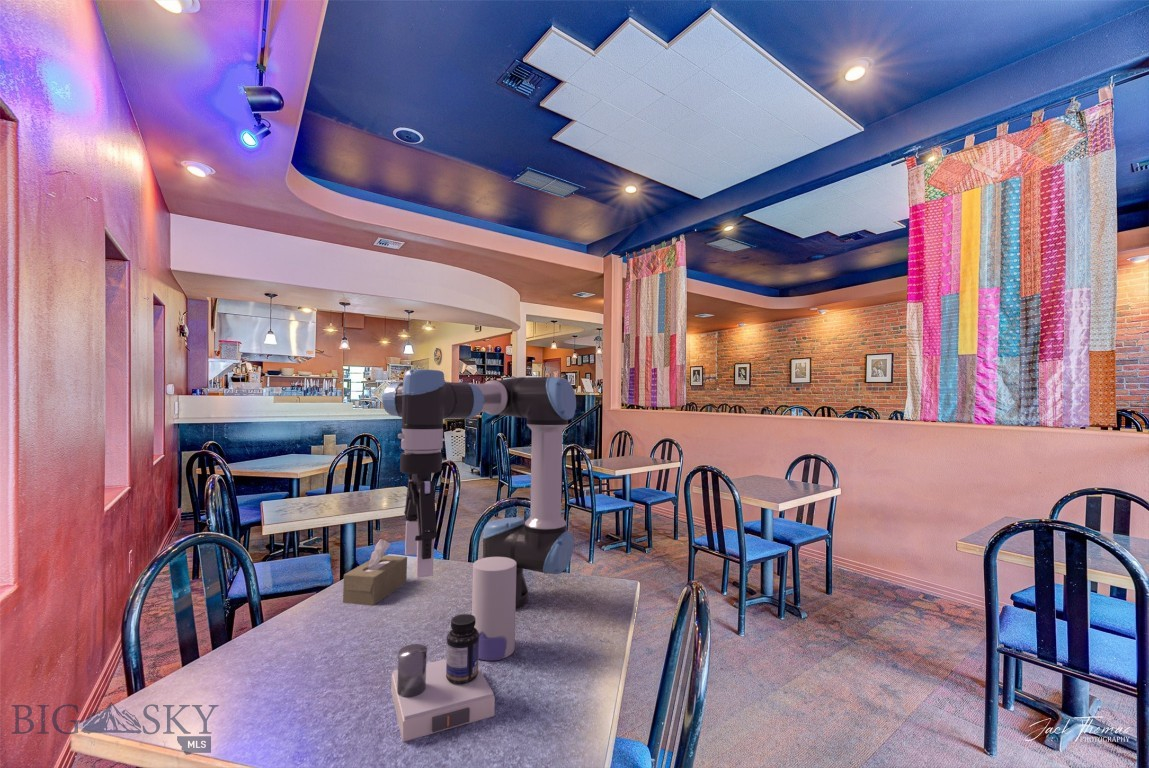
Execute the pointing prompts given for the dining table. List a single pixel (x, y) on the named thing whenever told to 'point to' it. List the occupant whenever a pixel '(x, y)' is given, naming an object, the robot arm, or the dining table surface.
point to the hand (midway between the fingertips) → (418, 564)
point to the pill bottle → (462, 650)
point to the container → (494, 606)
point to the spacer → (411, 670)
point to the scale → (441, 703)
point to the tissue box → (375, 577)
